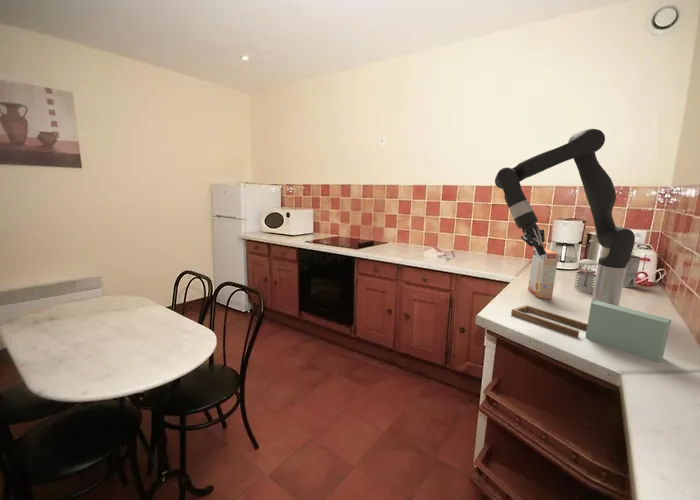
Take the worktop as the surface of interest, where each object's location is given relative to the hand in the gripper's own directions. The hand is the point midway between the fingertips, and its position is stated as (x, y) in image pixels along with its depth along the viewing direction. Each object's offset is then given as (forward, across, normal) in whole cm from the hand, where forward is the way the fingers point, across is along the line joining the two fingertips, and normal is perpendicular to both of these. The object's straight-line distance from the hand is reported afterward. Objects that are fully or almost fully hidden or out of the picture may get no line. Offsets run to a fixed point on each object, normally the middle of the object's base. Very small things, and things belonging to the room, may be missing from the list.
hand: (543, 254), depth 124 cm
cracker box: (+17, +21, +22) cm, 35 cm away
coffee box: (+29, +77, +14) cm, 84 cm away
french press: (+23, +47, +17) cm, 55 cm away
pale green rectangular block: (+34, -9, -15) cm, 39 cm away
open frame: (+23, -9, +4) cm, 25 cm away
